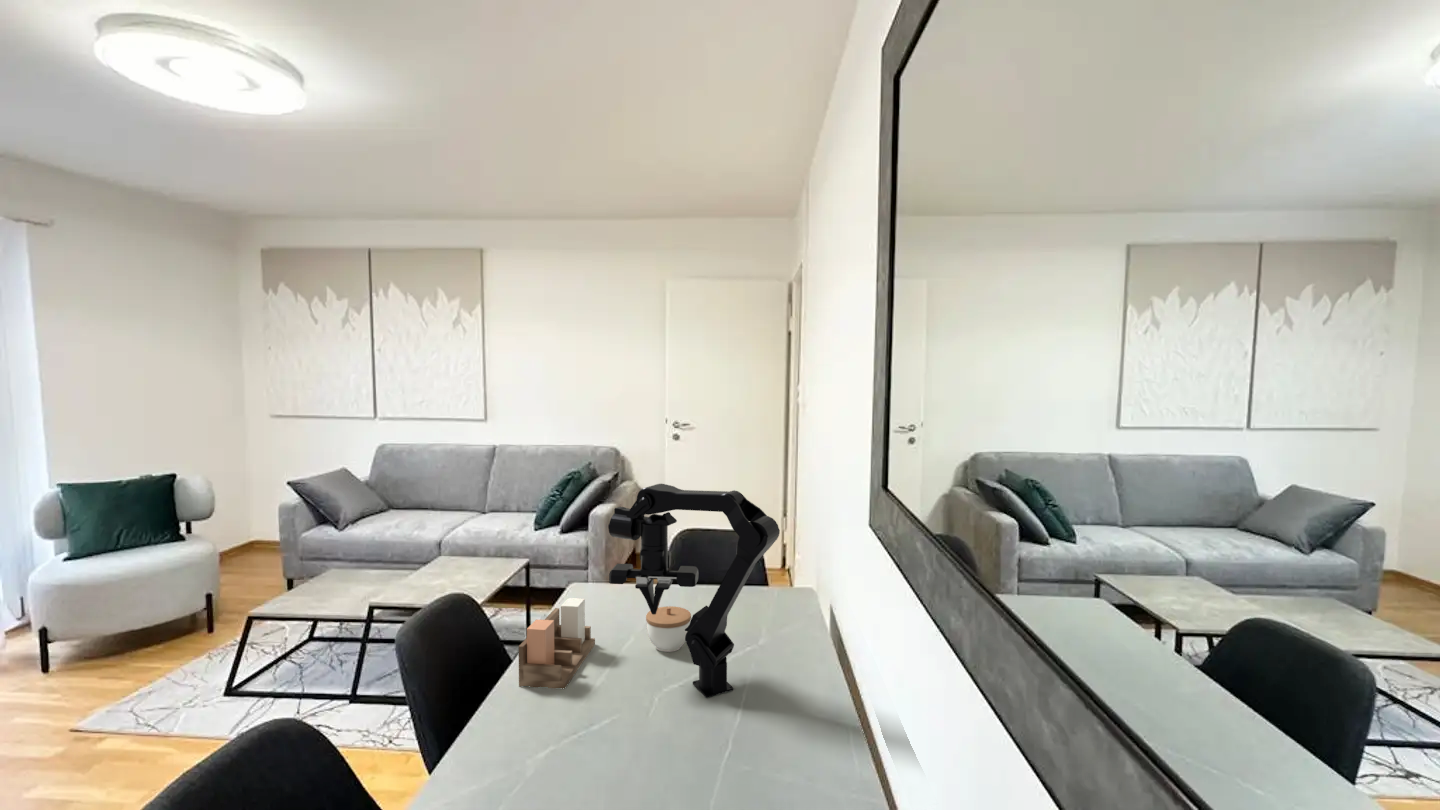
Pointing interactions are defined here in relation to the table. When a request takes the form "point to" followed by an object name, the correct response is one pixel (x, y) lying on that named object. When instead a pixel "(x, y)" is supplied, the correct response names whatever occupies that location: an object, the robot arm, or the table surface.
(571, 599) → the white tall block
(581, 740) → the table surface
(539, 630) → the light orange tall block
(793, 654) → the table surface
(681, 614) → the lidded jar
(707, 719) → the table surface
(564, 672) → the wooden desk organizer
